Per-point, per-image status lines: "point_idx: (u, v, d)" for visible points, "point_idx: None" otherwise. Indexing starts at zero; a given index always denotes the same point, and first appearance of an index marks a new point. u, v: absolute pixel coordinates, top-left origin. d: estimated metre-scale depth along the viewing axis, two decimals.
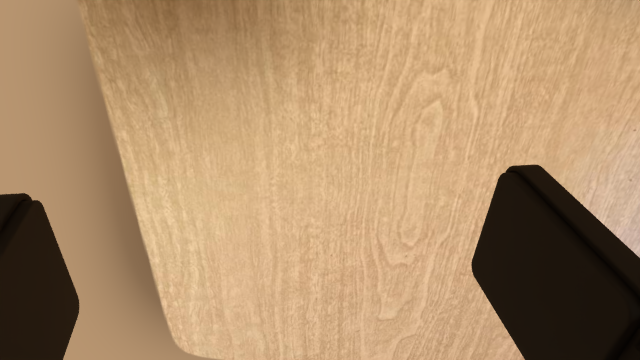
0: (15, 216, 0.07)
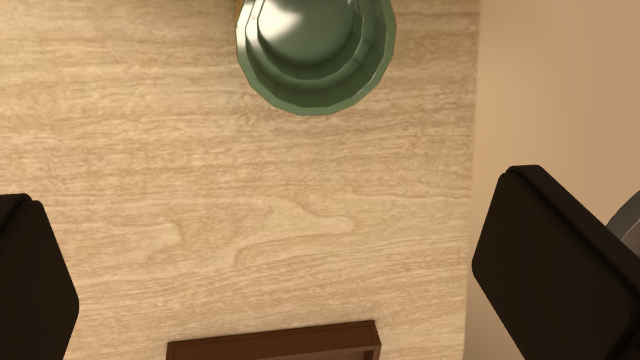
0: (15, 216, 0.07)
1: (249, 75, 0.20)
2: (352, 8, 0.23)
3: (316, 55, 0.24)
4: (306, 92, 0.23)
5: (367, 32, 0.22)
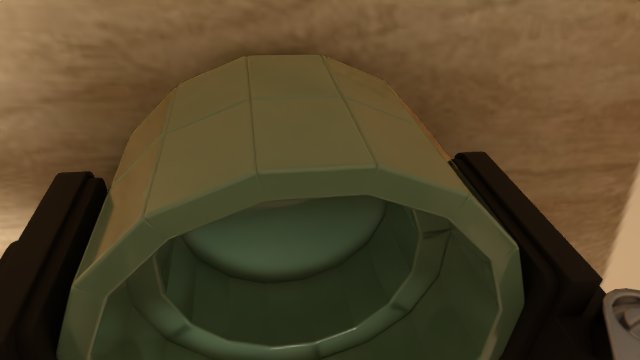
0: (85, 190, 0.08)
1: None
2: None
3: (308, 261, 0.11)
4: None
5: (428, 259, 0.09)
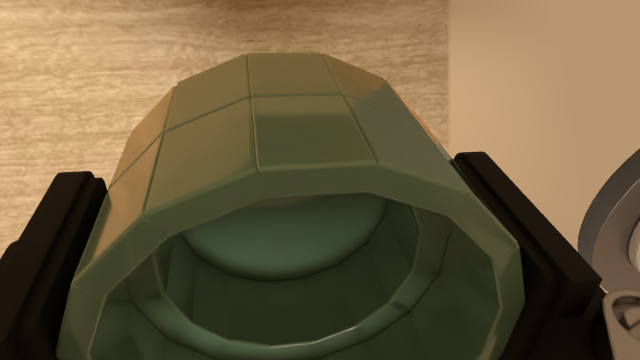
0: (85, 190, 0.08)
1: None
2: None
3: (308, 260, 0.11)
4: None
5: (428, 257, 0.09)
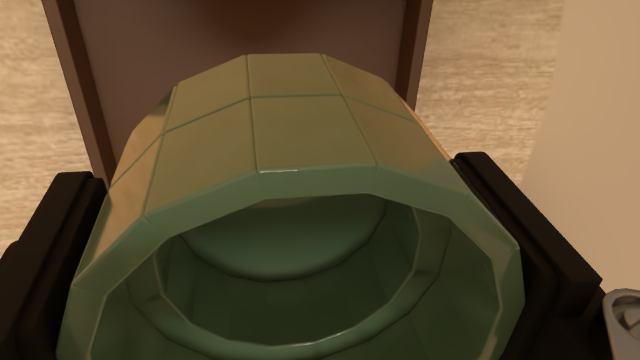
0: (85, 191, 0.08)
1: None
2: None
3: (308, 261, 0.11)
4: None
5: (428, 258, 0.09)
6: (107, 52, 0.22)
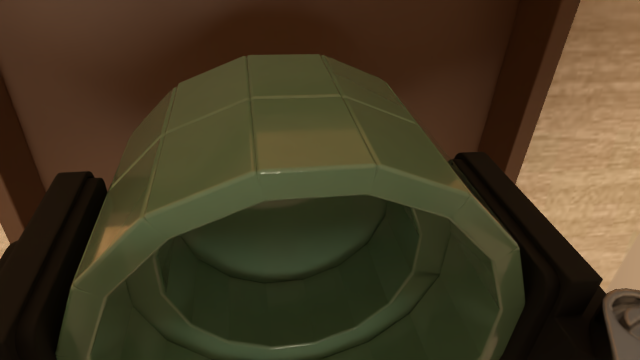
0: (85, 191, 0.08)
1: None
2: None
3: (308, 261, 0.11)
4: None
5: (428, 259, 0.09)
6: (12, 0, 0.12)
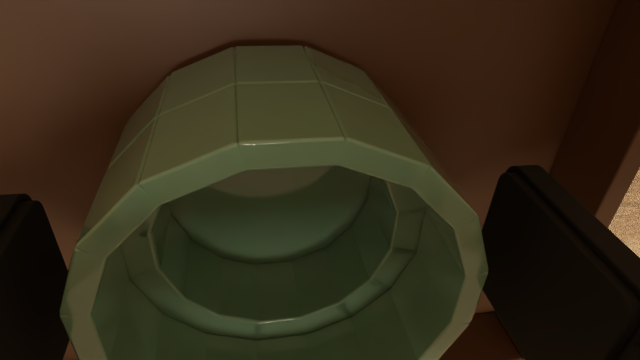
0: (15, 216, 0.07)
1: None
2: None
3: (296, 243, 0.12)
4: (274, 338, 0.11)
5: (405, 236, 0.10)
6: None
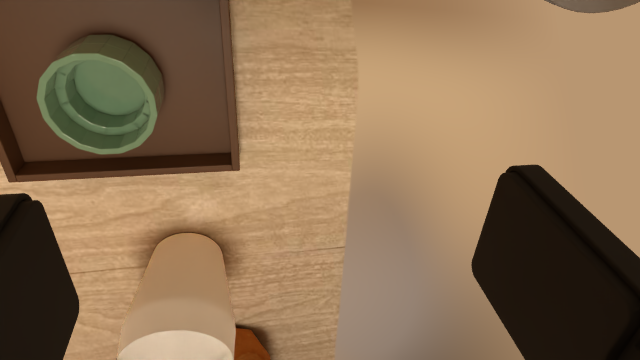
0: (15, 216, 0.07)
1: (54, 128, 0.29)
2: None
3: (126, 107, 0.33)
4: (113, 135, 0.32)
5: None
6: None
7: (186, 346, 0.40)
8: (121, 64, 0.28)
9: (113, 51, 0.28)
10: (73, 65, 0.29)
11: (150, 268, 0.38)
